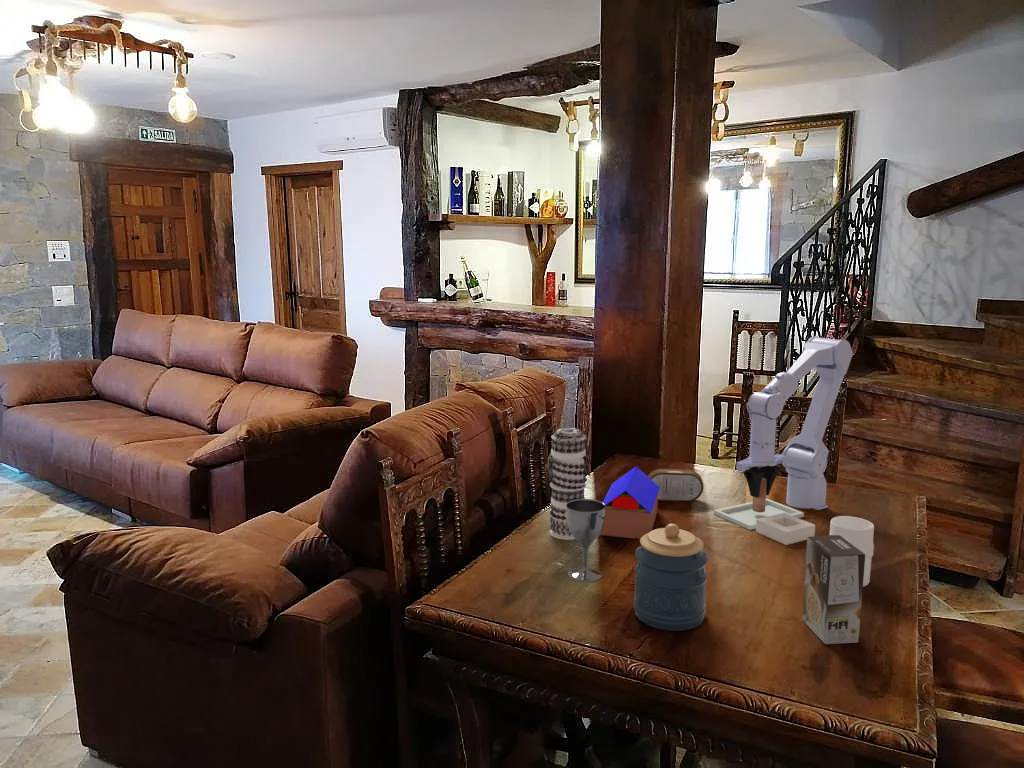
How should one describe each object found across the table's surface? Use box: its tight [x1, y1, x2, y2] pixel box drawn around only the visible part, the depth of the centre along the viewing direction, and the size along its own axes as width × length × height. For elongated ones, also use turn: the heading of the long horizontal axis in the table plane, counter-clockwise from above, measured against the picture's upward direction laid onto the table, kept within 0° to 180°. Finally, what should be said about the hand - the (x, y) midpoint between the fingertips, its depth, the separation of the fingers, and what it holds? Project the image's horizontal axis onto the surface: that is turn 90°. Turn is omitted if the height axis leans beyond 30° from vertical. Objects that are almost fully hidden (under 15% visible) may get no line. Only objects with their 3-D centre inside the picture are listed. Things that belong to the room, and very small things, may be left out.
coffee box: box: [802, 534, 865, 645], centre depth 132 cm, size 9×6×16 cm
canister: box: [633, 523, 709, 632], centre depth 138 cm, size 13×13×18 cm
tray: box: [713, 498, 805, 531], centre depth 188 cm, size 18×12×2 cm, turn 118°
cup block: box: [755, 513, 816, 546], centre depth 175 cm, size 9×9×4 cm
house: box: [599, 466, 660, 540], centre depth 185 cm, size 12×20×12 cm, turn 164°
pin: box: [752, 478, 767, 512], centre depth 187 cm, size 3×3×8 cm
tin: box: [647, 468, 705, 503], centre depth 201 cm, size 15×3×8 cm, turn 84°
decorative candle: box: [547, 427, 589, 541], centre depth 177 cm, size 9×9×25 cm
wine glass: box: [566, 498, 605, 583], centre depth 156 cm, size 8×8×15 cm
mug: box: [829, 515, 875, 588], centre depth 155 cm, size 8×12×12 cm
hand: (759, 495), depth 187 cm, fingers closed on pin, 3 cm apart
